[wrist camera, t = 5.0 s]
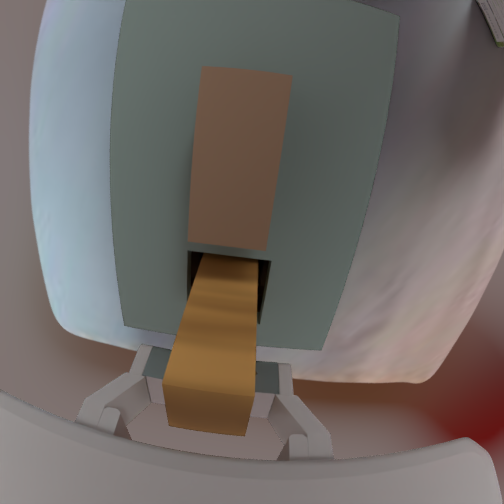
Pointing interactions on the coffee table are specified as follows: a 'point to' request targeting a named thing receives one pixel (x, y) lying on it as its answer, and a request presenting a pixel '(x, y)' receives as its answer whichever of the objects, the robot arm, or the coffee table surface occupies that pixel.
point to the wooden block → (215, 349)
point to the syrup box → (494, 18)
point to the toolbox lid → (246, 151)
